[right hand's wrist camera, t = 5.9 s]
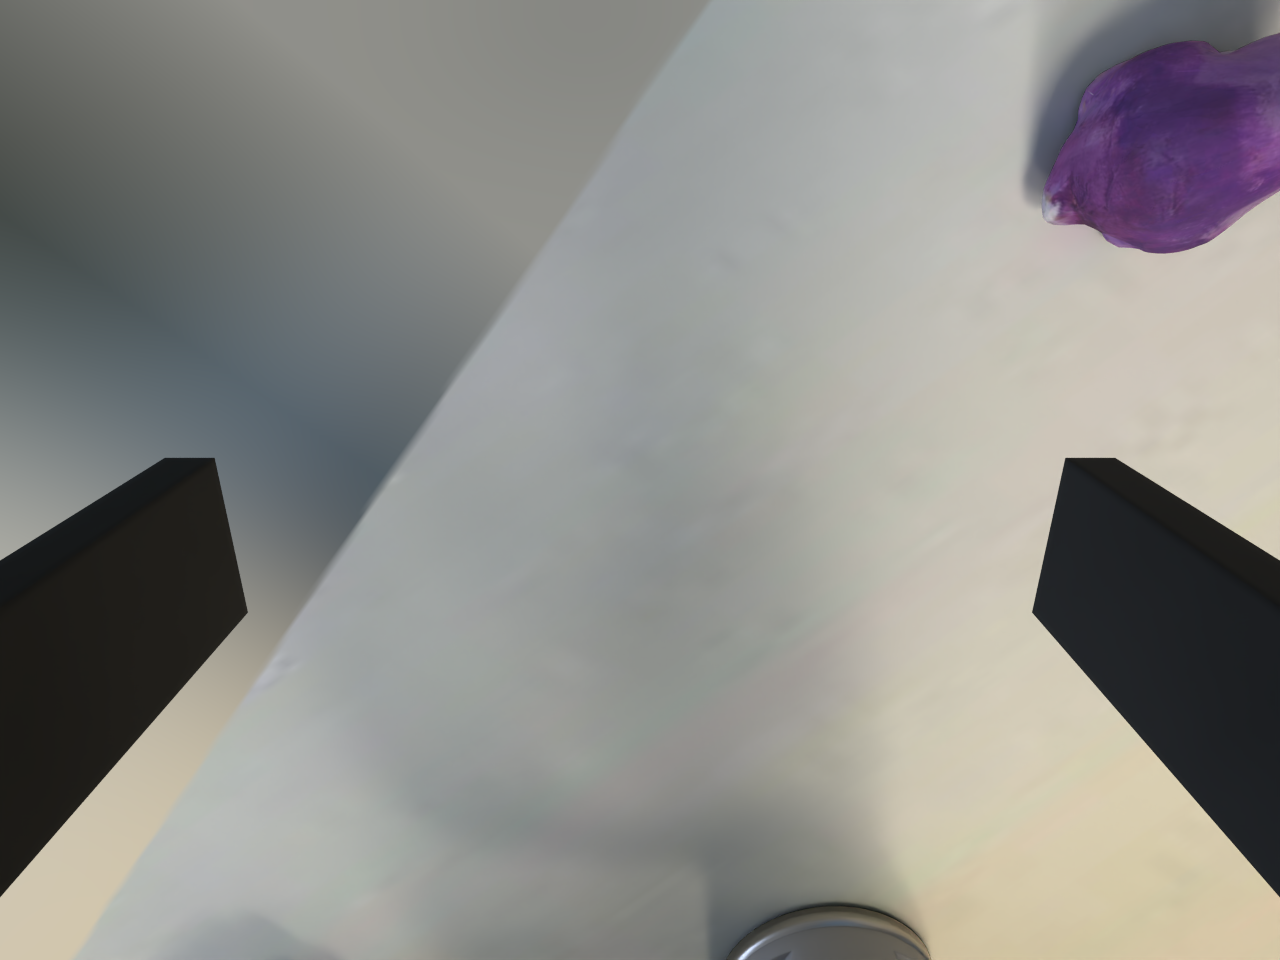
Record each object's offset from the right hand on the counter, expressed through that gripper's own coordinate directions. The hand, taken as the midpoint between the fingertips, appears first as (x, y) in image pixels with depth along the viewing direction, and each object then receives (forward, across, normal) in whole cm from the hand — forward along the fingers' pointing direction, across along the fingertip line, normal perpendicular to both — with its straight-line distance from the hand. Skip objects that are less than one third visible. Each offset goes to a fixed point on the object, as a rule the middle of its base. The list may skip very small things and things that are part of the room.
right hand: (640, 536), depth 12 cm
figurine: (+28, -23, -7) cm, 37 cm away
